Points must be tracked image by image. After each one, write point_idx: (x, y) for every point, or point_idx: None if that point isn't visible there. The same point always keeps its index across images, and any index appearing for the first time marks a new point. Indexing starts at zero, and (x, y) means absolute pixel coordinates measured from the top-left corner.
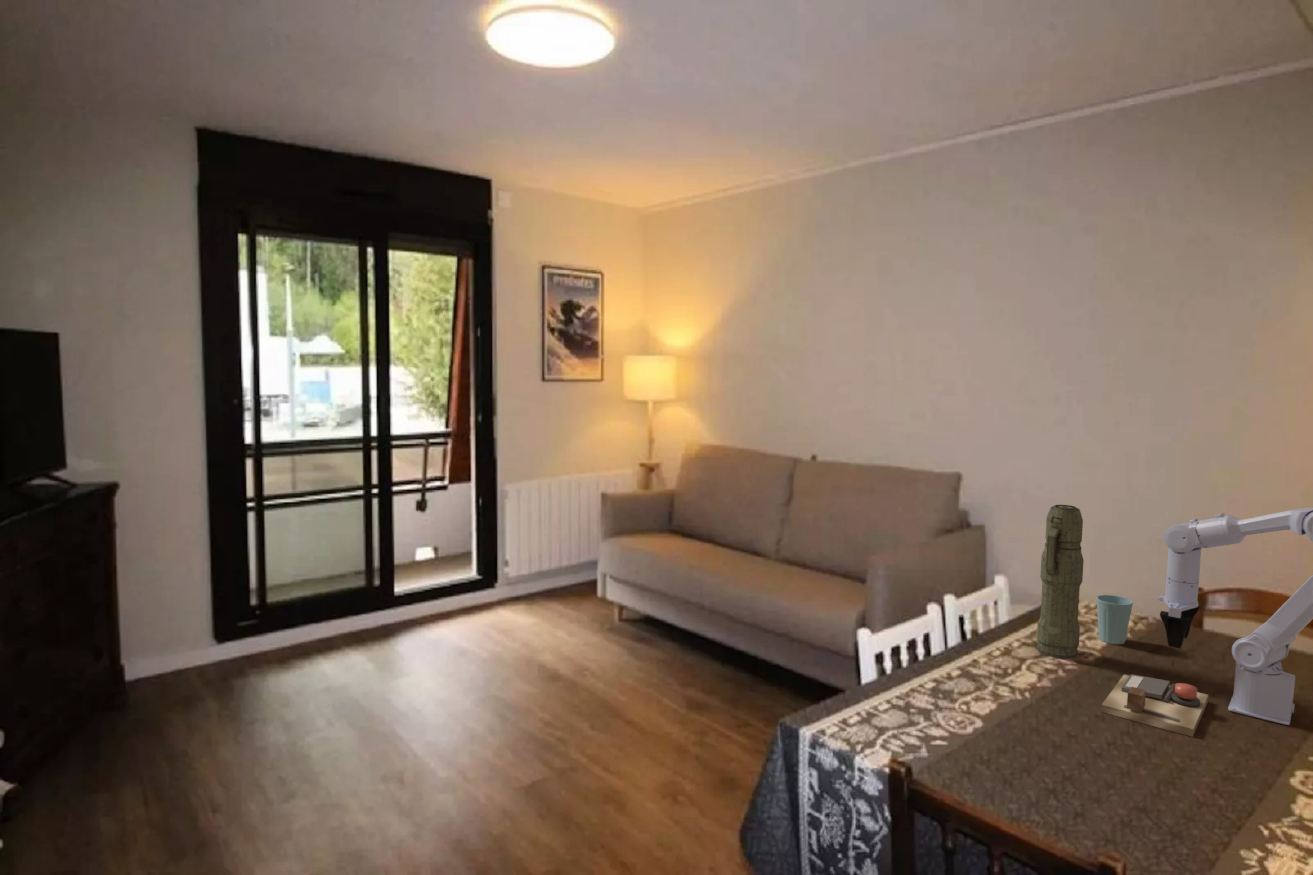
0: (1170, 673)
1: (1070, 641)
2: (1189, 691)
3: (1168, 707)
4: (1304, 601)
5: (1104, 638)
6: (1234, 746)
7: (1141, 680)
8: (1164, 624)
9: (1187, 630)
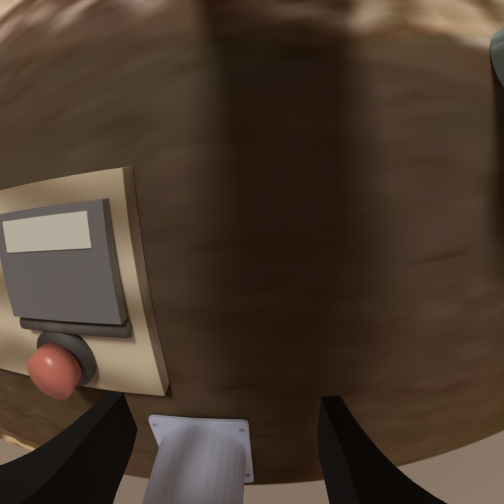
0: (343, 271)
1: None
2: (35, 383)
3: (12, 324)
4: None
5: (496, 39)
6: (21, 404)
7: (63, 248)
8: (14, 461)
9: (325, 471)
